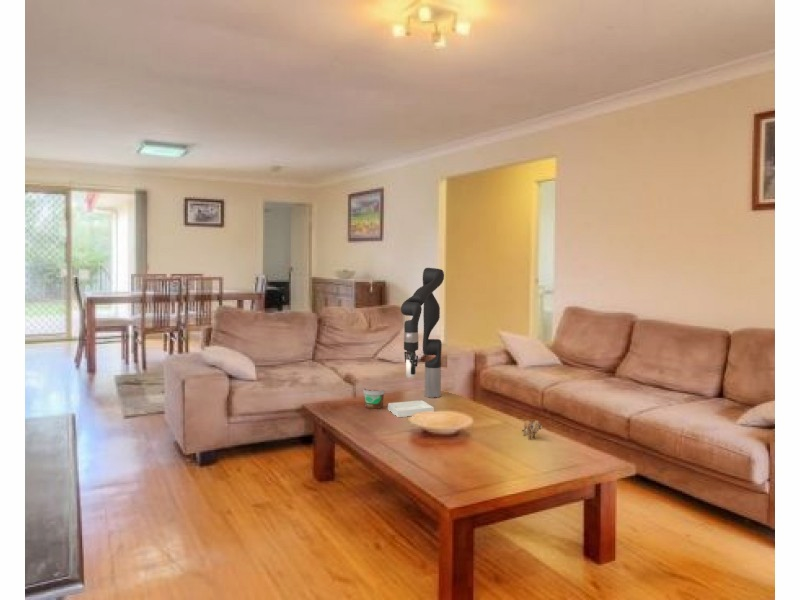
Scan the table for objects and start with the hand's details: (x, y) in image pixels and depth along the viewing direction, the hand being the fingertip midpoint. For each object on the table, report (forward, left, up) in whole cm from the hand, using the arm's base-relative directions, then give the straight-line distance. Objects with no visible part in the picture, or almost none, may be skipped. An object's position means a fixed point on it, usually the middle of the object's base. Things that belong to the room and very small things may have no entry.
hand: (410, 373), depth 288 cm
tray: (0, 0, -21) cm, 21 cm away
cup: (0, 0, -2) cm, 2 cm away
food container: (-13, -17, -21) cm, 30 cm away
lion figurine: (+55, +37, -21) cm, 70 cm away
